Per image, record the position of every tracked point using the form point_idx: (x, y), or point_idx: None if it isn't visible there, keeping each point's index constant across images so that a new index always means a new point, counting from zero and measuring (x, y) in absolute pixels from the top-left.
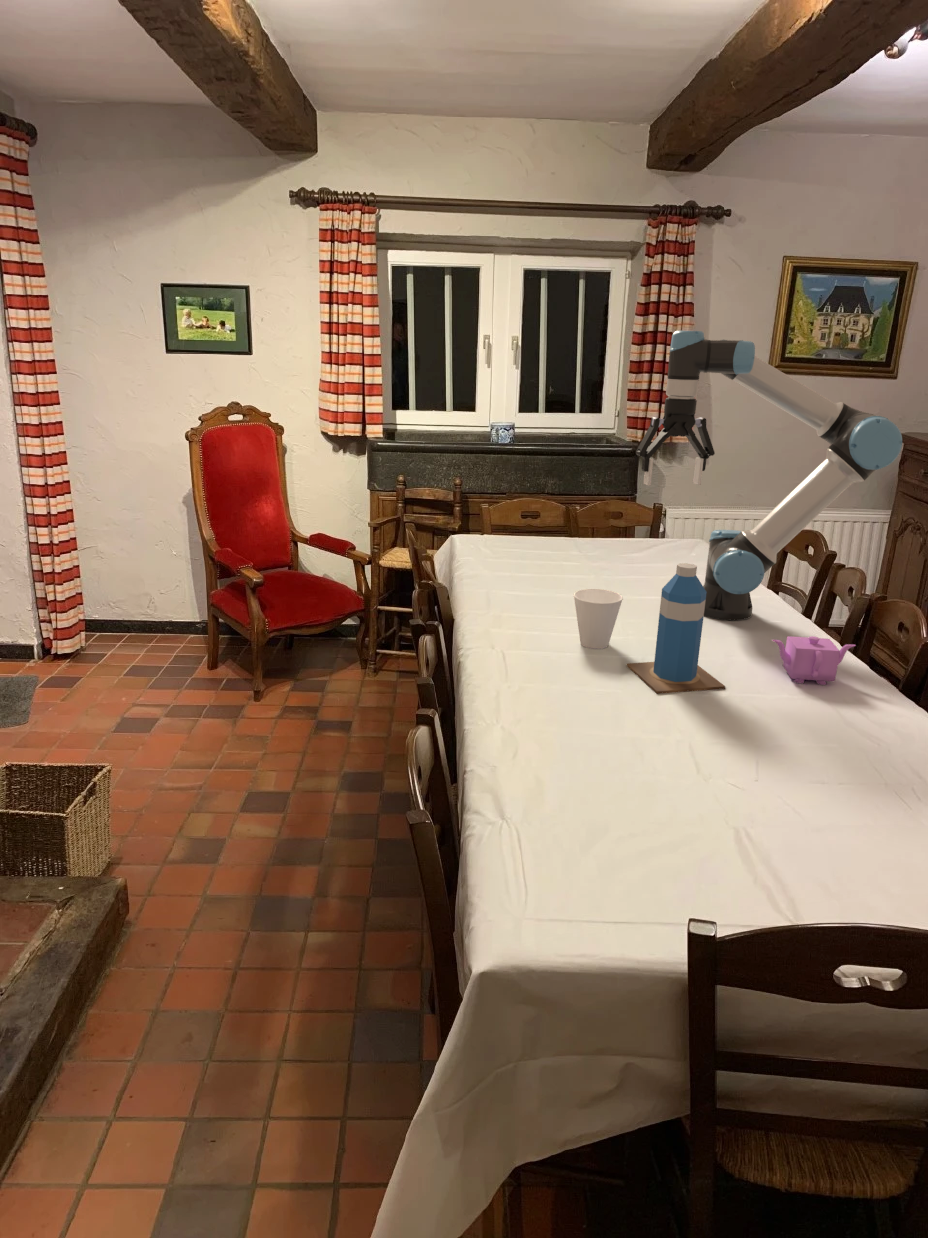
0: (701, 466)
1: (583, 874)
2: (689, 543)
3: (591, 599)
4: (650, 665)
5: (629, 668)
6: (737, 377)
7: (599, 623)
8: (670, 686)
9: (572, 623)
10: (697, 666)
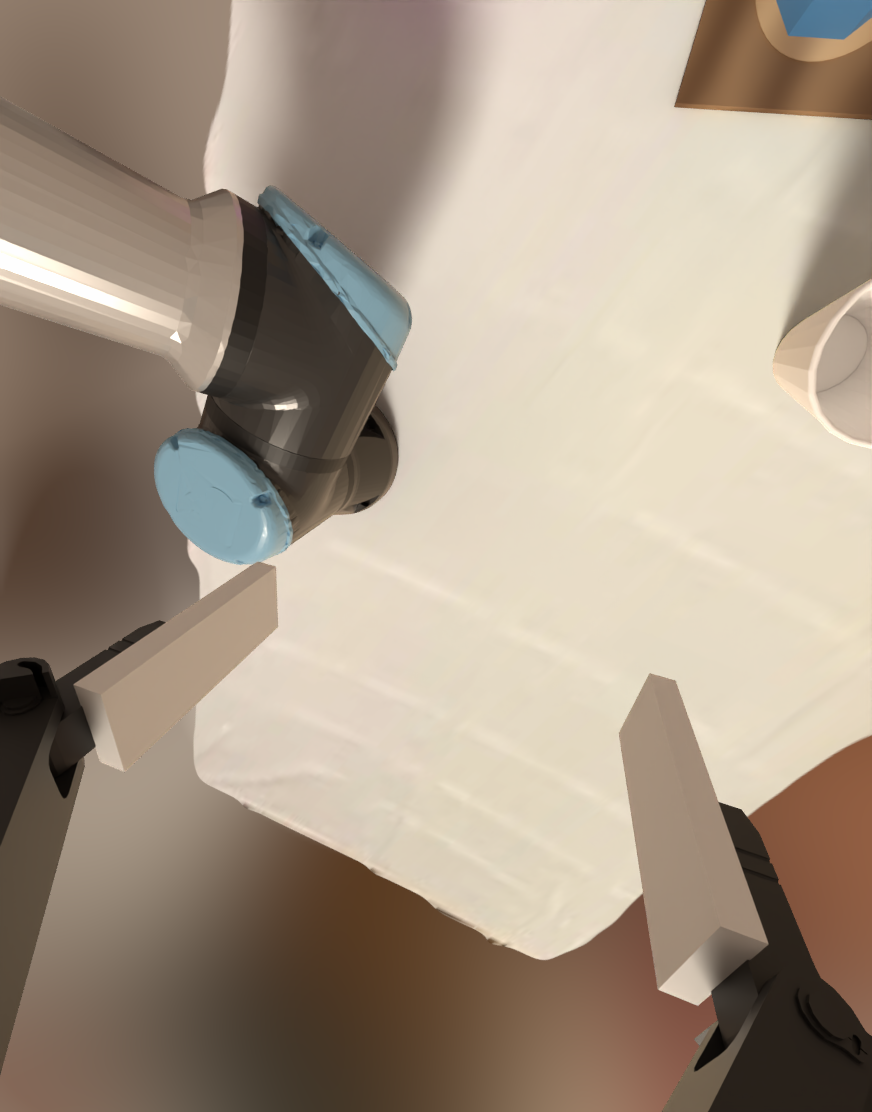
0: (158, 638)
1: None
2: (206, 765)
3: (846, 428)
4: (852, 73)
5: None
6: None
7: None
8: None
9: (735, 517)
10: (708, 19)
